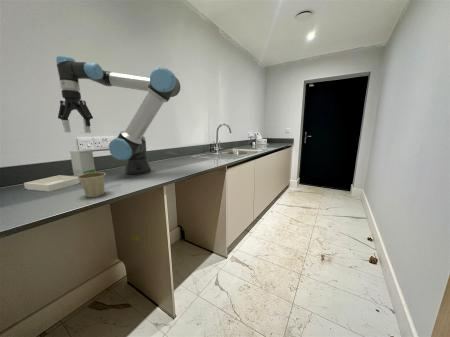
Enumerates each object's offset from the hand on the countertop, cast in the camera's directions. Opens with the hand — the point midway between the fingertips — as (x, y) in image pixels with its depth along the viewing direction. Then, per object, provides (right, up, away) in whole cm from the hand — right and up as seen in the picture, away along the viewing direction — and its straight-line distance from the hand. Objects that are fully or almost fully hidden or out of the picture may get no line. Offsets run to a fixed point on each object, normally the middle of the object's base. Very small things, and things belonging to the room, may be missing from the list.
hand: (77, 132), depth 97 cm
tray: (-2, -28, -10) cm, 30 cm away
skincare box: (0, -25, +5) cm, 25 cm away
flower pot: (+26, -31, -22) cm, 46 cm away
